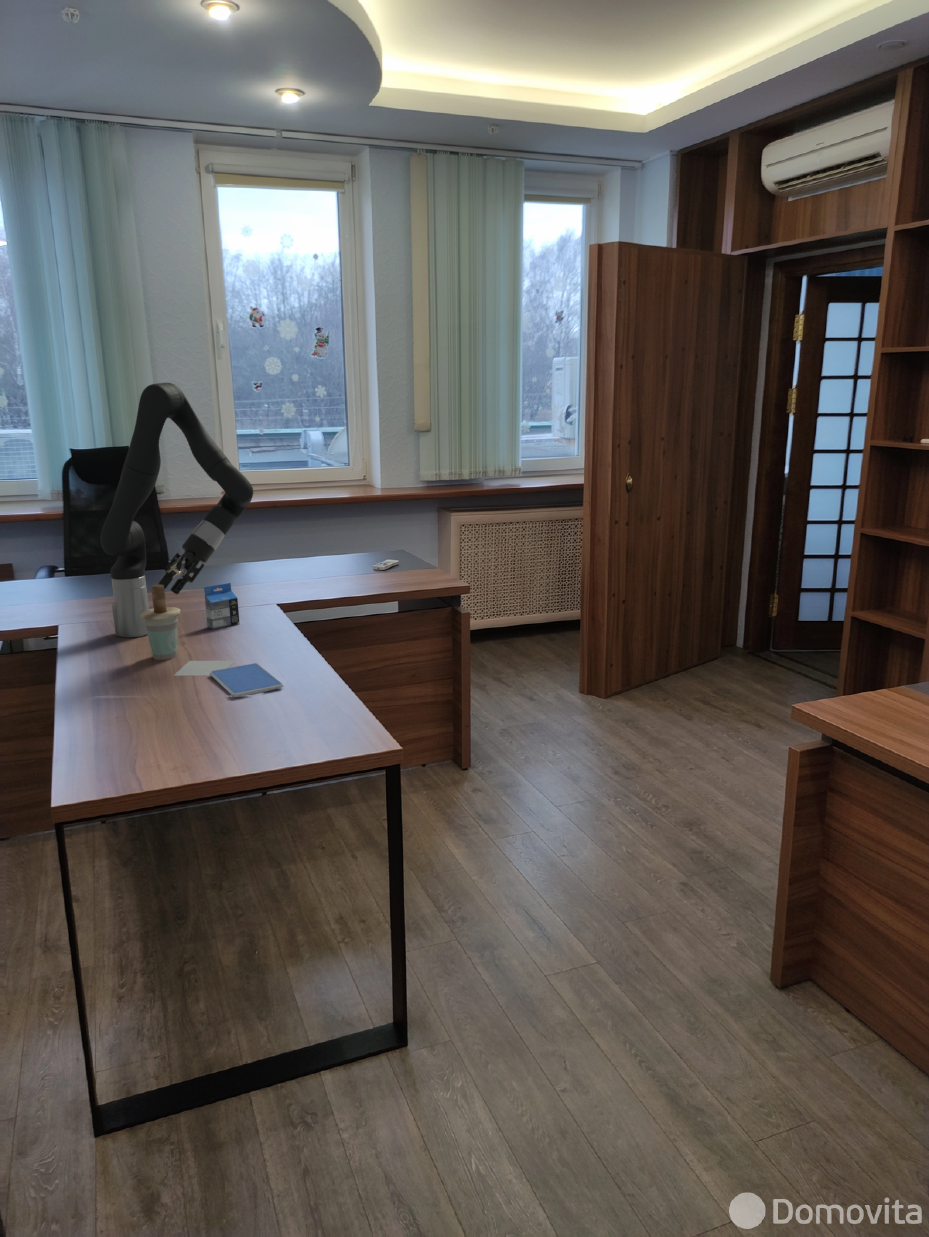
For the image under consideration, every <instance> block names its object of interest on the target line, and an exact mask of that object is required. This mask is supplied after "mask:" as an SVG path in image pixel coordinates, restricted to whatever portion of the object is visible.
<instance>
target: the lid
mask: <svg viewBox="0 0 929 1237" xmlns="http://www.w3.org/2000/svg"><path fill="white" fill-rule="evenodd" d="M150 589H151V596H152V597H151V598H152V606H153V608H149V609H148V610H145V611H143V612H141V613H140V615H141V618H143V619H148V620H159V619H167V618H172V617H175V616H176V617H177V616H180V615H181V609H180V608H179V607H174V606H167V602H166V593H165V592H166V591H165V589H164V585H158V584H153V585H151V586H150Z"/></svg>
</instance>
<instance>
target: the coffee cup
mask: <svg viewBox="0 0 929 1237" xmlns="http://www.w3.org/2000/svg"><path fill="white" fill-rule="evenodd" d="M178 621H179V619H178V617H177V616H175V617H172V618H167V619H159V620H148V619H145V621H144V622H145V623H144V624H145V625H146V628H147V633H148V634H147V638H148V641H149V644H150V649H151V654H152V657H153V659H154V660H156V661H168V660H172V659H175V658H176V657H177V656H178V655H177V654H178V653H177V652H178V645H177V644H178Z"/></svg>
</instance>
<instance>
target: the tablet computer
mask: <svg viewBox="0 0 929 1237" xmlns="http://www.w3.org/2000/svg"><path fill="white" fill-rule="evenodd" d="M210 675H211V676H210V677H212V678H213V679H214V680H215V681H216V682H217V683H218V684H219V685H220V686H221V687H223V688H224V689H225V690H226V691H227V692H228V693H229V694H230V695H231V697H235V698H237V697H238V698H239V697H245V696H251V695H254V694H259V693H260V694H261V693H264V692H265V693H266V692H268V691H269V692H270V691H273V690H277V689H281V688H283V687H284V683H282V681H280V680H279V679H277V678H276V677H275V676H273V674H271V673H270V672H269V671H267V670H266V669H265V668H263V667H262V665H260V664H258V663H249V664H244V665H238V666H233V667H228V668H226V669H221V670H215V671H211V672H210Z"/></svg>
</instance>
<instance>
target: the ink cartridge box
mask: <svg viewBox="0 0 929 1237" xmlns="http://www.w3.org/2000/svg"><path fill="white" fill-rule="evenodd" d="M217 589H220V590H217ZM203 591H204V601H205V602H204V604H205V605H204V606H205V614H206V626H207V628H210V629H212V630H215V629H221V628H224V627H225V628H226V627H230V626H231V627H232V626H235V625H240V622H241V621H240V612H239V601H238V600H239V599H238V597H237V596H236V594H235V593H234V592H233V591H232V586H231V582H229V583H222V584H216V585H215V584H214V585H210V586H205V587H203Z"/></svg>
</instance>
